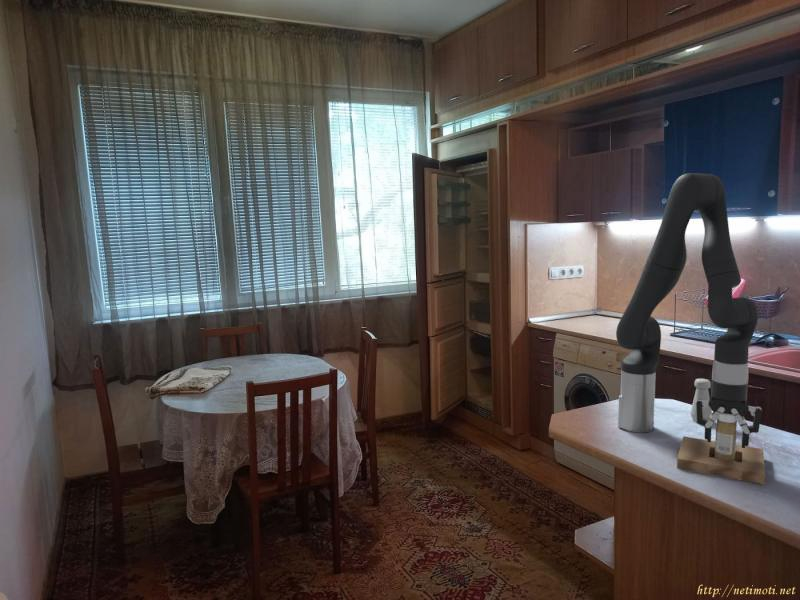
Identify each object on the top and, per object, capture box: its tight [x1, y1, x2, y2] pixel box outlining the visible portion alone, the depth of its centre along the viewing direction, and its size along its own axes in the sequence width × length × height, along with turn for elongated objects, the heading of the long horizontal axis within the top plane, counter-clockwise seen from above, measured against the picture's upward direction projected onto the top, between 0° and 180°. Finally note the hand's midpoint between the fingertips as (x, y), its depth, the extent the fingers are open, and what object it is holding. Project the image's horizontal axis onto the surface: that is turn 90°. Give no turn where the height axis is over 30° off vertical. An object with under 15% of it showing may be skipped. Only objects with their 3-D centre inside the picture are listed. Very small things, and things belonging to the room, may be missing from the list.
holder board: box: [676, 436, 766, 485], centre depth 136 cm, size 18×16×2 cm
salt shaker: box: [690, 378, 713, 423], centre depth 164 cm, size 6×6×13 cm
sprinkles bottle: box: [714, 413, 738, 462], centre depth 135 cm, size 5×5×14 cm
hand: (726, 443), depth 135 cm, fingers open, 6 cm apart
